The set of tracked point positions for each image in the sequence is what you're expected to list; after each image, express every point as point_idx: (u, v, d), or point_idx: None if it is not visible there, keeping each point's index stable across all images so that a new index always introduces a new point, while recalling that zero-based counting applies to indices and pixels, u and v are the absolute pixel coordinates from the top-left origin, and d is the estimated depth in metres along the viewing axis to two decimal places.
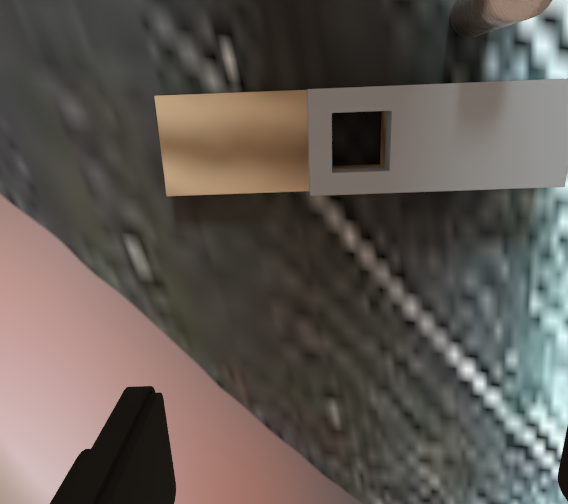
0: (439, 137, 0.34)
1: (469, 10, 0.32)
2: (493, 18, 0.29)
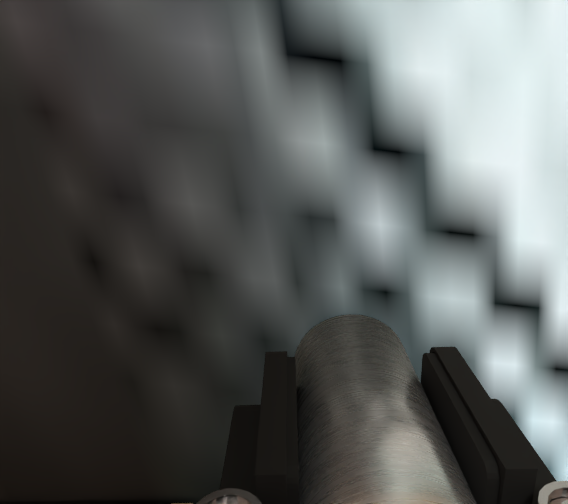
0: None
1: None
2: None
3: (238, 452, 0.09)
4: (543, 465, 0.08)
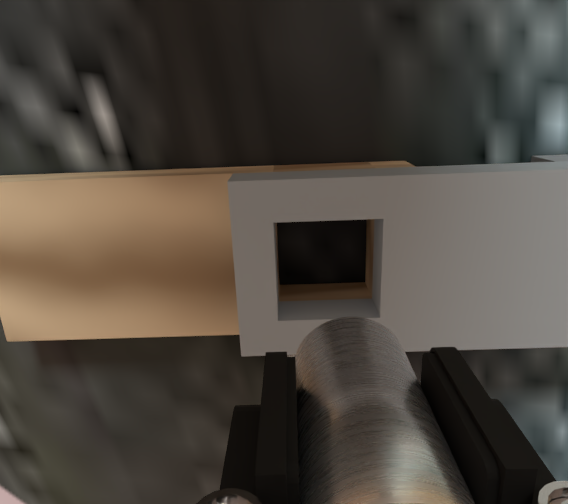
0: (469, 263, 0.19)
1: None
2: None
3: (238, 452, 0.09)
4: (543, 465, 0.08)
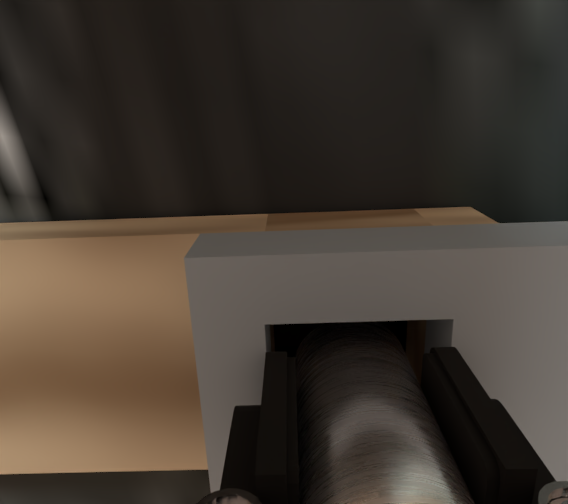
0: None
1: None
2: None
3: (238, 452, 0.09)
4: (543, 465, 0.08)
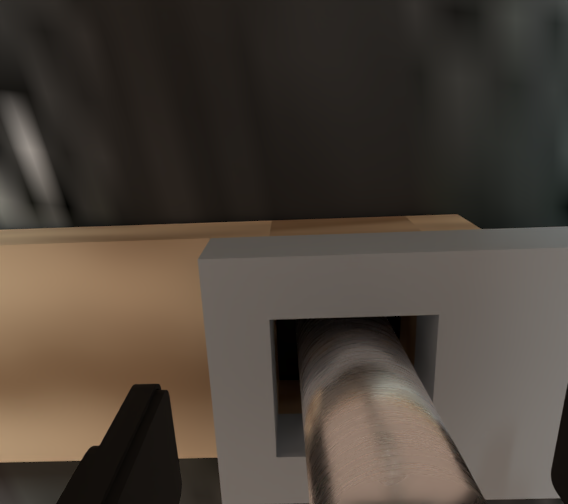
0: (567, 379, 0.12)
1: None
2: None
3: None
4: None
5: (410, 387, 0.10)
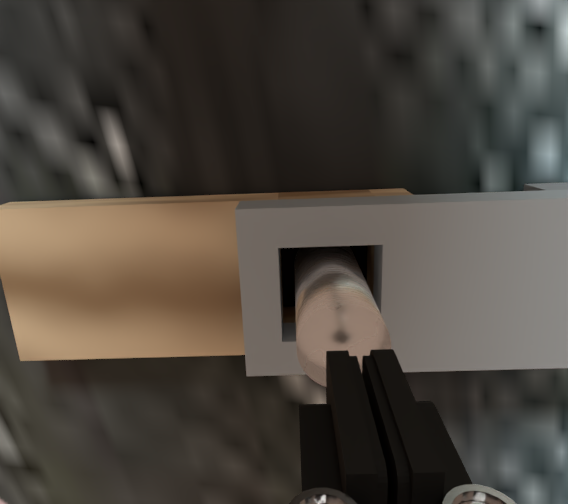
0: (465, 287, 0.20)
1: None
2: None
3: (313, 451, 0.09)
4: (463, 468, 0.08)
5: (355, 280, 0.17)
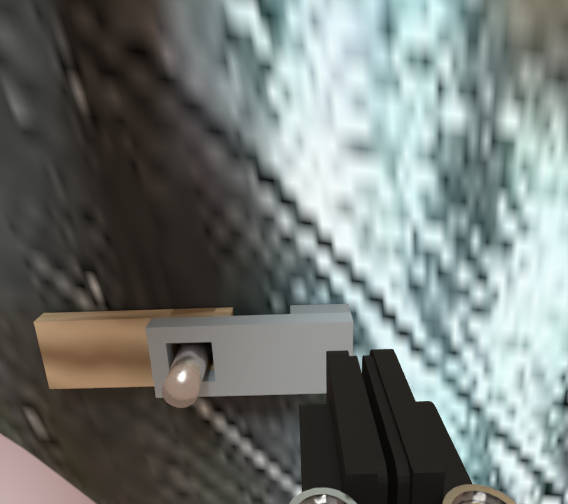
0: (250, 359, 0.44)
1: None
2: None
3: (313, 451, 0.09)
4: (463, 468, 0.08)
5: (192, 361, 0.42)
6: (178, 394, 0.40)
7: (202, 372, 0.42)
